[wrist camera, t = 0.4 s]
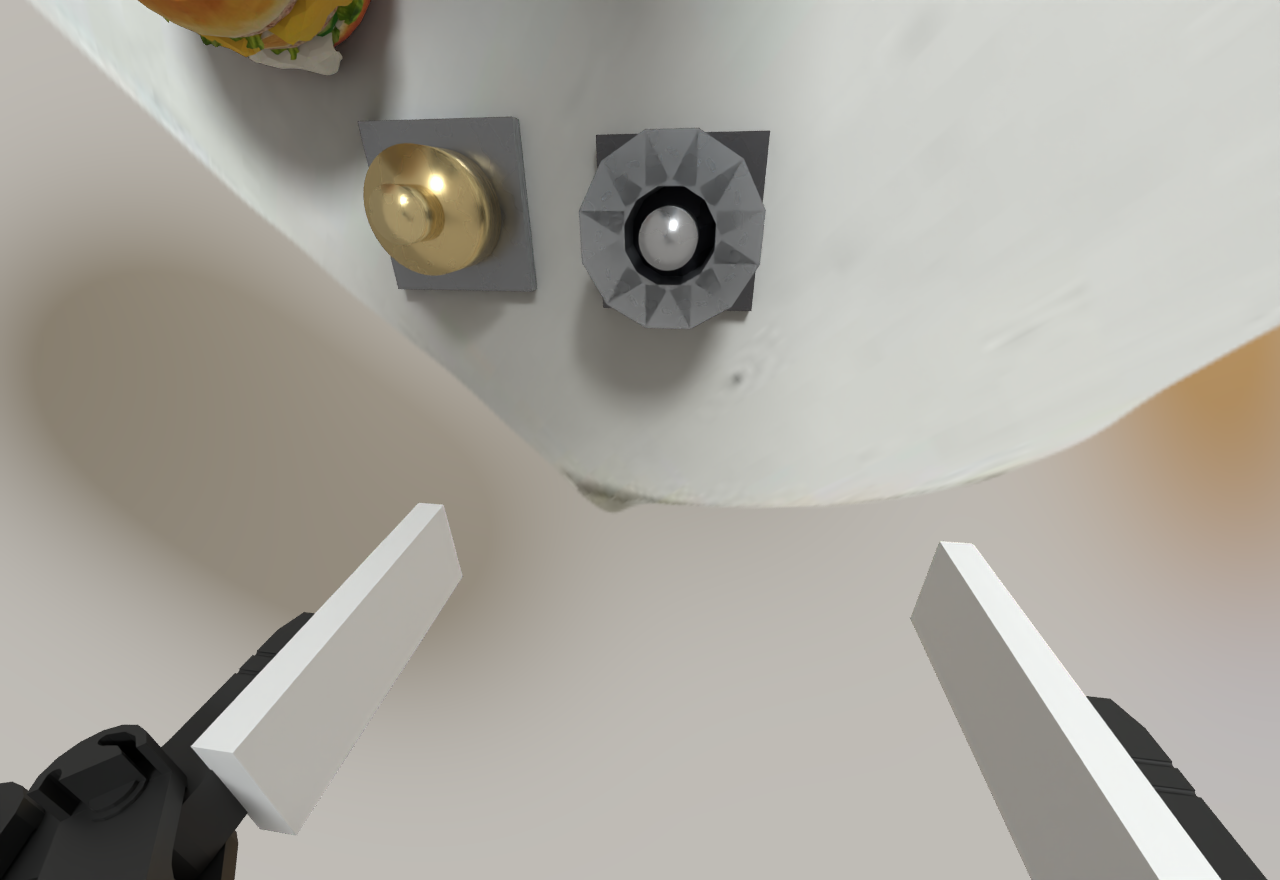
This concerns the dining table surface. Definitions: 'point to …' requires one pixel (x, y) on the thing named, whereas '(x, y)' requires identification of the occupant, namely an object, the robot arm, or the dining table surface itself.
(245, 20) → the burger
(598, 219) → the grey faceted ring
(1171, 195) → the dining table surface
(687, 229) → the stand
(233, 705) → the robot arm
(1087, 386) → the dining table surface
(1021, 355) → the dining table surface
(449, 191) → the hub
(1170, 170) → the dining table surface
